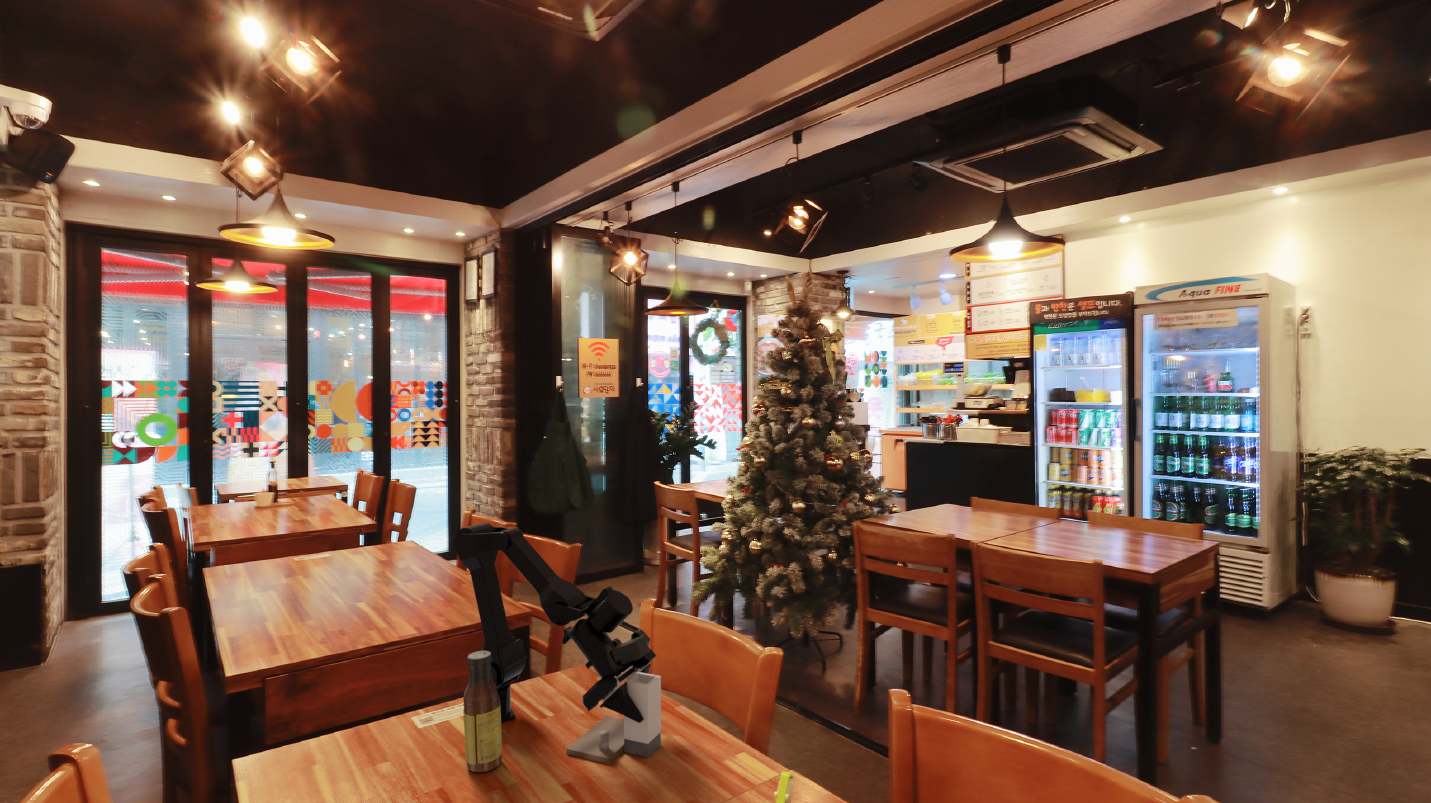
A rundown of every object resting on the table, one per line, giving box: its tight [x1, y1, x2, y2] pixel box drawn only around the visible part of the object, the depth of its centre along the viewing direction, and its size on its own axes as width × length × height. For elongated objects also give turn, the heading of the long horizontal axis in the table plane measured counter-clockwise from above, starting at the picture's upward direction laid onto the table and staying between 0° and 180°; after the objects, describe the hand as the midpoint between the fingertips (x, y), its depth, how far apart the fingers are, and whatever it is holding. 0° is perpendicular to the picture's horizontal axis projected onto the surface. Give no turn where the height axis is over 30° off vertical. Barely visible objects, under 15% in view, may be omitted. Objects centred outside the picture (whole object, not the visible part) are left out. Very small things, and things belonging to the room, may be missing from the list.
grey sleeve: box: [623, 672, 662, 759], centre depth 128 cm, size 5×5×13 cm
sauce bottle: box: [462, 650, 503, 774], centre depth 123 cm, size 6×6×20 cm
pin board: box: [565, 715, 624, 765], centre depth 131 cm, size 9×14×4 cm, turn 157°
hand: (649, 714), depth 128 cm, fingers closed on grey sleeve, 5 cm apart
